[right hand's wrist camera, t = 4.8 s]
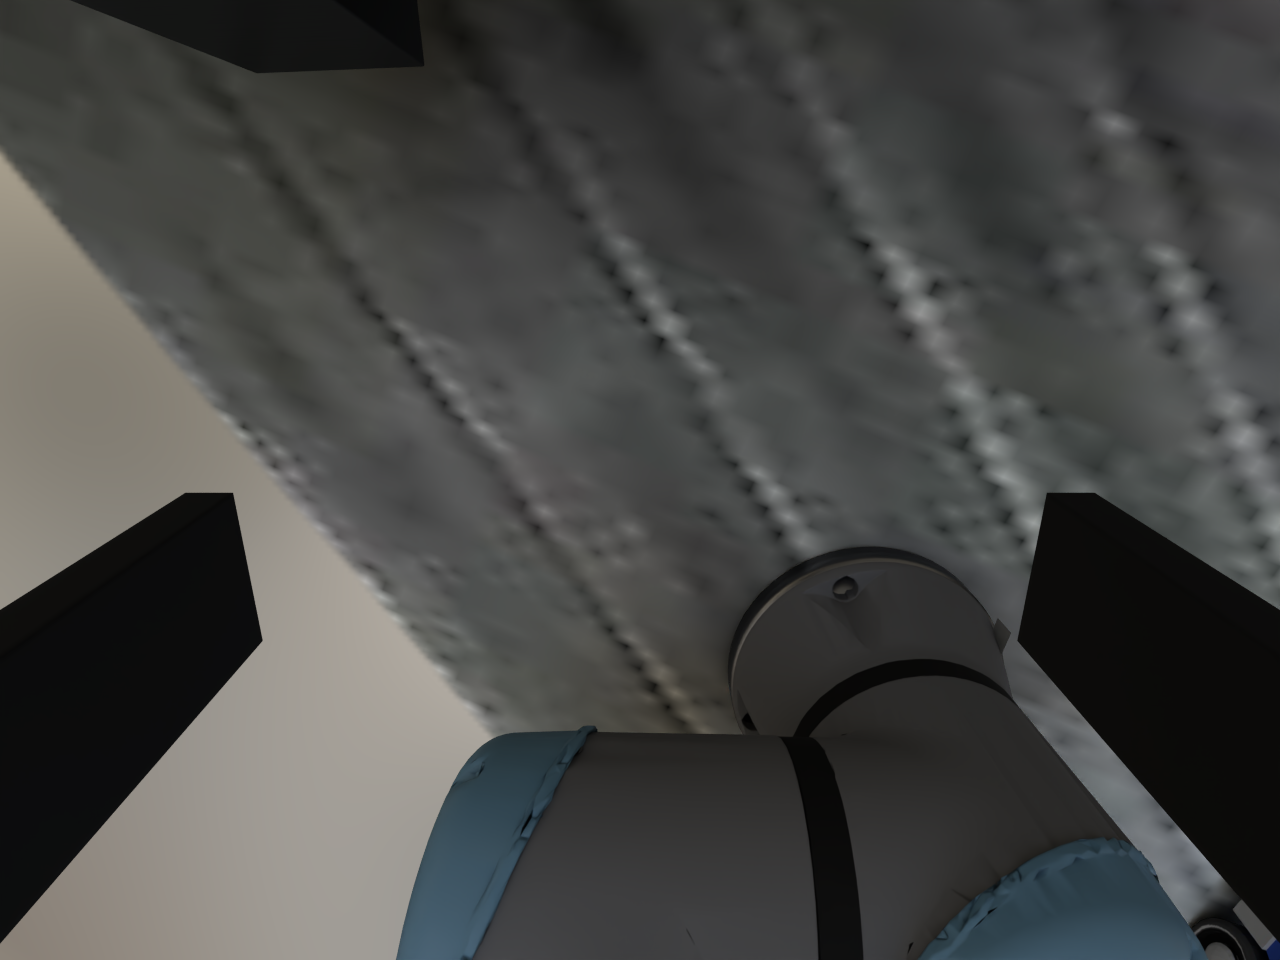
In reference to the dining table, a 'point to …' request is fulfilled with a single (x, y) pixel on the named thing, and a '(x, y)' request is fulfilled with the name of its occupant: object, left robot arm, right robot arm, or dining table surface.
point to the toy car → (1237, 937)
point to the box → (283, 31)
